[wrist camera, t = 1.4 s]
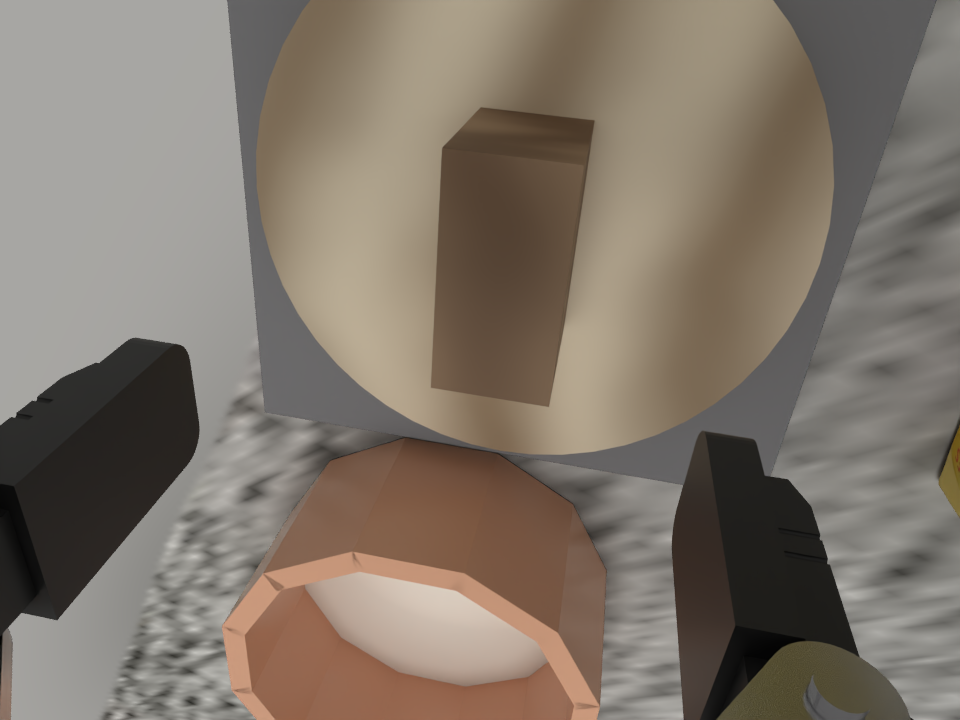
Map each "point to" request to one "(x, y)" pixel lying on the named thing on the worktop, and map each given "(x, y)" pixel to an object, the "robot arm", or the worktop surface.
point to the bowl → (423, 596)
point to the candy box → (952, 475)
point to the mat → (743, 411)
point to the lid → (545, 206)
